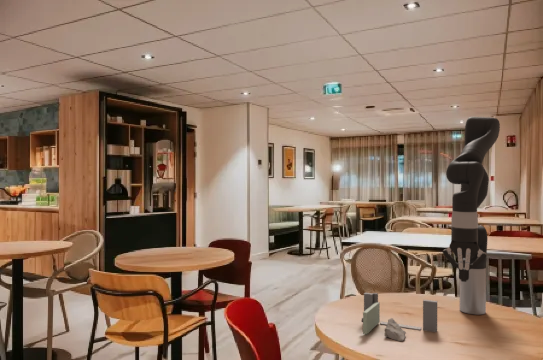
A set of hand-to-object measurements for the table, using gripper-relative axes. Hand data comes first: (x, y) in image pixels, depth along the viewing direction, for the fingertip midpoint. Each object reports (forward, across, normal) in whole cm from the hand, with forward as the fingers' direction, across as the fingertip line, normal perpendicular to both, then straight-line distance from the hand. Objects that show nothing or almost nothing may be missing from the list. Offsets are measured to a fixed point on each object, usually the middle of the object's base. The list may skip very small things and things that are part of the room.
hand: (463, 281), depth 132 cm
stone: (+20, -20, -4) cm, 29 cm away
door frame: (+20, -20, +6) cm, 28 cm away
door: (+19, -29, -2) cm, 35 cm away
